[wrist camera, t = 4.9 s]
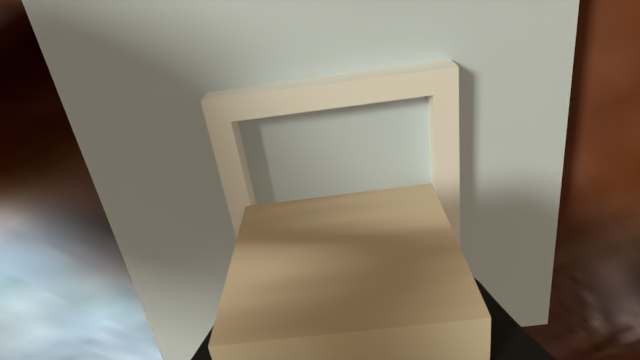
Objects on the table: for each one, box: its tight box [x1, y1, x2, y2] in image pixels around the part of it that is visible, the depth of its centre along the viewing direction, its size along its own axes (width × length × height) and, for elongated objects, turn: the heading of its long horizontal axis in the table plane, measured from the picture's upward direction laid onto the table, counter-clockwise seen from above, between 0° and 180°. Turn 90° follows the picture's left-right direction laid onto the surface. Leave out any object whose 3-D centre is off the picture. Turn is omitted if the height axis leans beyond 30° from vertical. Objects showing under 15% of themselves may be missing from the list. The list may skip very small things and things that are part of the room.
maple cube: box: [208, 183, 491, 360], centre depth 11 cm, size 4×4×4 cm
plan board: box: [22, 0, 579, 360], centre depth 18 cm, size 17×18×2 cm
